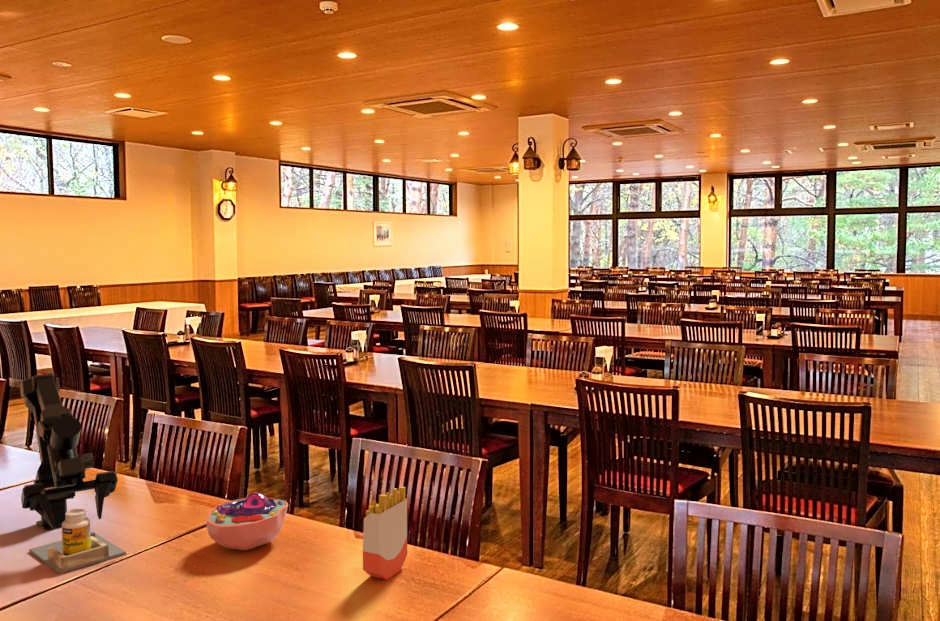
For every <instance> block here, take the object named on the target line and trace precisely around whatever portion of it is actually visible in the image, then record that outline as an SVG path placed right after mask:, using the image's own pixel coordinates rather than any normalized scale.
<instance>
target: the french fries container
mask: <svg viewBox="0 0 940 621" xmlns="http://www.w3.org/2000/svg"><path fill="white" fill-rule="evenodd" d="M406 489H407V487H406V486H399V487H398V488H396V487H395V488H392V493H391V492H385V494H384V493H382V494H379V497H378V503H377V501H376V500H370V503H369V504H370V506H369V509H367V510H365V517H364V518H363V531H362V532H363V533H362V534H363V535H362V537H363V538H362V570H363V571H364V572H365V573H366V574H368V576H370V577H373V578H377V579H381V580H386V581H388V580H389V579H390V578H392V577H393V576H395V575H397V573H399V572H400V571H401V570H402V568H403V566H404V563H405V561H406V558H407V556H408V498H407V497H406V491H407V490H406Z"/></svg>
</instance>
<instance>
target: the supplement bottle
mask: <svg viewBox="0 0 940 621" xmlns="http://www.w3.org/2000/svg"><path fill="white" fill-rule="evenodd" d="M90 533H91V520H90V518H88V517H87V514H86V510H85V509H84V508H75V509H71V510H70V509H69V510H67V512H66V513H65V521H64V522H63V523H62V526H61V541H62V546H63V554H64V555H65V556H68V555H71V554H75V553H78V552H82V551H85V550H89V549H91V535H90Z"/></svg>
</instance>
